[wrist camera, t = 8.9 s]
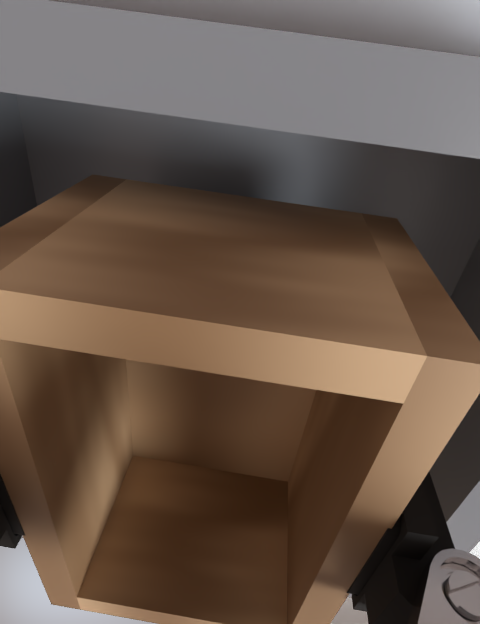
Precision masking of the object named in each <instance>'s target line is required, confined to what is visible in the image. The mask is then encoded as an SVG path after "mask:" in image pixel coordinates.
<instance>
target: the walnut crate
mask: <svg viewBox="0 0 480 624" xmlns="http://www.w3.org/2000/svg"><path fill="white" fill-rule="evenodd" d="M479 394H480V341H479V340H478V338H477V337H476V335H475V334H474V332H473V331H472V329H471V328H470V326H469V325H468V323H467V322H466V320H465V319H464V317H463V316H462V314H461V313H460V311H459V310H458V308H457V307H456V305H455V304H454V302H453V301H452V299H451V298H450V297H449V295H448V294H447V292H446V291H445V289H444V288H443V286H442V285H441V283H440V282H439V280H438V279H437V277H436V276H435V274H434V273H433V271H432V270H431V268H430V267H429V265H428V264H427V262H426V261H425V259H424V258H423V256H422V255H421V253H420V252H419V250H418V249H417V247H416V246H415V244H414V243H413V241H412V240H411V238H410V237H409V235H408V234H407V232H406V231H405V229H404V228H403V226H402V225H401V223H400V222H399V220H398V219H397V218H391V217H384V216H377V215H370V214H363V213H356V212H349V211H342V210H335V209H328V208H321V207H314V206H308V205H301V204H294V203H287V202H280V201H273V200H266V199H259V198H252V197H245V196H238V195H231V194H224V193H217V192H211V191H204V190H197V189H190V188H183V187H176V186H169V185H162V184H155V183H148V182H141V181H134V180H127V179H120V178H114V177H107V176H100V175H93V174H92V175H91V176H89V177H87V178H85V179H84V180H82V181H80V182H78V183H77V184H75V185H73V186H72V187H70V188H68V189H66V190H65V191H63V192H61V193H59V194H58V195H56V196H54V197H52V198H51V199H49V200H47V201H45V202H44V203H42V204H40V205H38V206H37V207H35V208H33V209H32V210H30V211H28V212H26V213H25V214H23V215H21V216H19V217H18V218H16V219H14V220H12V221H11V222H9V223H7V224H5V225H4V226H2V227H0V474H1V477H2V479H3V481H4V484H5V486H6V489H7V491H8V494H9V496H10V499H11V501H12V504H13V506H14V508H15V511H16V513H17V516H18V518H19V521H20V523H21V526H22V528H23V531H24V533H25V536H24V535H23V537H24V540H25V542H26V544H27V547H28V549H29V552H30V554H31V556H32V559H33V561H34V564H35V566H36V568H37V570H38V573H39V576H40V578H41V580H42V583H43V585H44V587H45V590H46V592H47V595H48V597H49V600H50V602H51V604H53V605H59V606H64V607H69V608H75V609H80V610H86V611H92V612H97V613H103V614H108V615H113V616H119V617H125V618H130V619H136V620H142V621H147V622H152V623H158V624H330V623H331V621H332V620H333V618H334V617H335V615H336V614H337V612H338V611H339V609H340V607H341V606H342V604H343V603H344V601H345V600H346V598H347V597H348V595H349V594H350V593H347V591H348V589H349V588H350V586H351V585H352V583H353V582H354V580H355V578H356V577H357V575H358V574H359V572H360V571H361V569H362V568H363V566H364V564H365V563H366V561H367V560H368V558H369V557H370V555H371V553H372V552H373V550H374V549H375V547H376V546H377V544H378V543H379V541H380V539H381V538H382V536H383V535H384V533H385V532H386V530H387V528H390V529H392V527H393V526H394V524H395V523H396V521H397V520H398V518H399V517H400V515H401V514H402V512H403V510H404V509H405V507H406V506H407V504H408V503H409V501H410V500H411V498H412V497H413V495H414V494H415V492H416V490H417V489H418V487H419V486H420V484H421V483H422V481H423V480H424V478H425V477H426V475H427V474H428V472H429V470H430V469H431V467H432V466H433V464H434V463H435V461H436V460H437V458H438V457H439V455H440V454H441V452H442V450H443V449H444V447H445V446H446V444H447V443H448V441H449V440H450V438H451V437H452V435H453V434H454V432H455V430H456V429H457V427H458V426H459V424H460V423H461V421H462V420H463V418H464V417H465V415H466V414H467V412H468V410H469V409H470V407H471V406H472V404H473V403H474V401H475V400H476V398H477V397H478V395H479Z"/></svg>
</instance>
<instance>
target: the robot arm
mask: <svg viewBox="0 0 480 624" xmlns="http://www.w3.org/2000/svg"><path fill="white" fill-rule="evenodd" d="M22 535H24V536H25V533H24V531H23V528H22V526H21V523H20V521H19V518H18V516H17V513H16V511H15V508H14V506H13V504H12V501H11V499H10V496H9V494H8V491H7V489H6V486H5V484H4V481H3V479H2V477H1V474H0V546H4V547H9V548H16V546H17V544H18V542H19V541H20V539H21V537H22ZM347 593H350V594H352V602H353V609H355V610H361V611H366V612H367V615H368V622H369V624H480V559H479V558H477V557H476V556H474V555H472V554H470V553H468V552H466V551H463V550H458V549H455V547H454V544H453V541H452V538H451V535H450V532H449V529H448V526H447V523H446V520H445V517H444V514H443V511H442V508H441V505H440V502H439V499H438V496H437V493H436V490H435V487H434V484H433V481H432V478H431V475H430V472H428V474H427V475H426V477H425V478H424V480H423V481H422V483H421V484H420V486H419V487H418V489H417V490H416V492H415V494H414V495H413V497H412V498H411V500H410V501H409V503H408V504H407V506H406V507H405V509H404V510H403V512H402V514H401V515H400V517H399V518H398V520H397V521H396V523H395V524H394V526H393V527H392V529H390V528H387V530H386V532H385V533H384V535H383V536H382V538H381V539H380V541H379V543H378V544H377V546H376V547H375V549H374V550H373V552H372V553H371V555H370V557H369V558H368V560H367V561H366V563H365V564H364V566H363V568H362V569H361V571H360V572H359V574H358V575H357V577H356V578H355V580H354V582H353V583H352V585H351V586H350V588H349V589H348V591H347Z"/></svg>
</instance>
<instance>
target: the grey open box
mask: <svg viewBox="0 0 480 624" xmlns="http://www.w3.org/2000/svg"><path fill="white" fill-rule="evenodd" d="M92 174H93V175H100V176H107V177H114V178H120V179H127V180H134V181H141V182H148V183H155V184H162V185H169V186H176V187H183V188H190V189H197V190H204V191H211V192H217V193H224V194H231V195H238V196H245V197H252V198H259V199H266V200H273V201H280V202H287V203H294V204H301V205H308V206H314V207H321V208H328V209H335V210H342V211H349V212H356V213H363V214H370V215H377V216H384V217H391V218H397V219H398V220H399V222H400V223H401V225H402V226H403V228H404V229H405V231H406V232H407V234H408V235H409V237H410V238H411V240H412V241H413V243H414V244H415V246H416V247H417V249H418V250H419V252H420V253H421V255H422V256H423V258H424V259H425V261H426V262H427V264H428V265H429V267H430V268H431V270H432V271H433V273H434V274H435V276H436V277H437V279H438V280H439V282H440V283H441V285H442V286H443V288H444V289H445V291H446V292H447V294H448V295H449V297H450V298H451V299H452V301H453V302H454V304H455V305H456V307H457V308H458V310H459V311H460V313H461V314H462V316H463V317H464V319H465V320H466V322H467V323H468V325H469V326H470V328H471V329H472V331H473V332H474V334H475V335H476V337H477V338H478V340H479V341H480V57H478V56H471V55H463V54H456V53H448V52H440V51H433V50H425V49H417V48H410V47H402V46H394V45H387V44H379V43H372V42H364V41H356V40H349V39H341V38H333V37H326V36H318V35H311V34H303V33H295V32H288V31H280V30H272V29H265V28H257V27H249V26H242V25H234V24H227V23H219V22H211V21H204V20H196V19H188V18H181V17H173V16H166V15H158V14H150V13H143V12H135V11H127V10H120V9H112V8H104V7H97V6H89V5H82V4H74V3H66V2H59V1H51V0H0V227H2V226H4V225H5V224H7V223H9V222H11V221H12V220H14V219H16V218H18V217H19V216H21V215H23V214H25V213H26V212H28V211H30V210H32V209H33V208H35V207H37V206H38V205H40V204H42V203H44V202H45V201H47V200H49V199H51V198H52V197H54V196H56V195H58V194H59V193H61V192H63V191H65V190H66V189H68V188H70V187H72V186H73V185H75V184H77V183H78V182H80V181H82V180H84V179H85V178H87V177H89V176H91V175H92ZM429 472H430V475H431V478H432V481H433V484H434V487H435V490H436V493H437V496H438V499H439V502H440V505H441V508H442V511H443V514H444V517H445V520H446V523H447V526H448V529H449V532H450V535H451V538H452V541H453V544H454V547H455V549H458V550H463V551H466V552H468V553H469V552H470V551H471V550H472V549H473V548H474V547H475V546H476V545H477V543H478V542H479V541H480V394H479V395H478V397H477V398H476V400H475V401H474V403H473V404H472V406H471V407H470V409H469V410H468V412H467V414H466V415H465V417H464V418H463V420H462V421H461V423H460V424H459V426H458V427H457V429H456V430H455V432H454V434H453V435H452V437H451V438H450V440H449V441H448V443H447V444H446V446H445V447H444V449H443V450H442V452H441V454H440V455H439V457H438V458H437V460H436V461H435V463H434V464H433V466H432V467H431V469H430V470H429ZM22 538H24V537H23V535H22ZM348 597H352V594H349V595H348Z"/></svg>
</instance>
